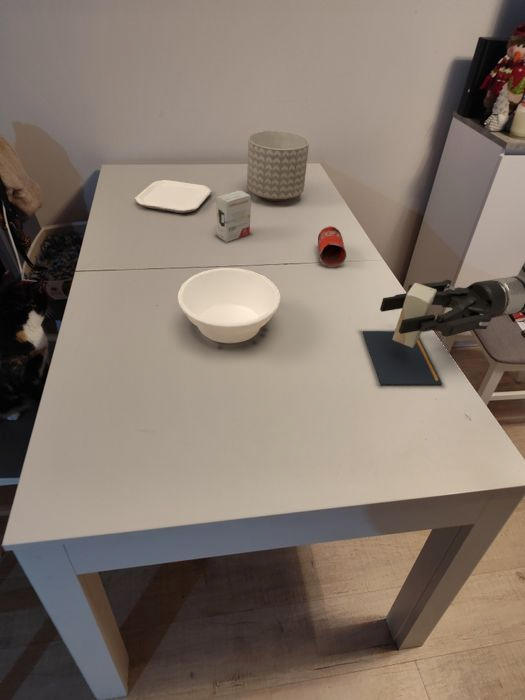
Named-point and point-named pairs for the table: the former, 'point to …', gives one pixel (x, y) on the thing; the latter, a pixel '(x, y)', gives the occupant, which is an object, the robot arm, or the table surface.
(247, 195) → the ink box
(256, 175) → the planter
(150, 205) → the plate
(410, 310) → the box
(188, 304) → the bowl
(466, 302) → the robot arm
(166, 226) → the table surface
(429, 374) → the desk mat
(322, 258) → the beverage can
